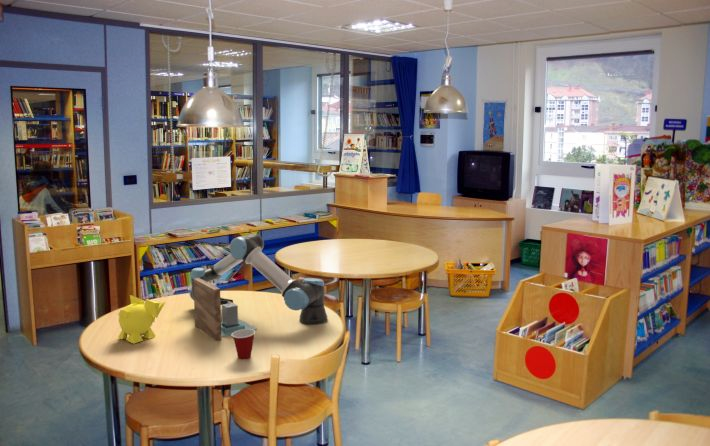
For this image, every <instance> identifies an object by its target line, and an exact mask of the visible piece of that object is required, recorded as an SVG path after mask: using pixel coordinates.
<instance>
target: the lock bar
mask: <svg viewBox="0 0 710 446" xmlns="http://www.w3.org/2000/svg"><path fill="white" fill-rule="evenodd" d="M238 307H239V306H238V305H237V304H236V303H234V302H233V303H229V304H224V305H221V322H222V326H224V327H225V328H230V327H235V326H238V319H239V311H238V310H239V309H238Z"/></svg>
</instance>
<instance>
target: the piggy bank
mask: <svg viewBox="0 0 710 446" xmlns="http://www.w3.org/2000/svg"><path fill="white" fill-rule="evenodd" d="M129 298H130V304H128V305H126V306H125V307H124V308H123V309H120V310H119V312H118V314H117V316H118V323H119V327H120V329H121V332H120V333H119V335H118V336H117V338H118V339H121V340H124V339H125V340H126V341H127V342H129V343H131V344H132V343H133V344H136V343H140V342H143V341H144V340H143V338H144V339H149V340H150V339H152V338H156V337H155V336H156V334H155V333H154V331H153V329H152V328H151V327H152V325H153V323H155V320H156V318H157V319H158V318H159V314H160V312H161V311H162V309H163V307H164V306H165V304H166V301H164V302H158V301H154V300H151V299H147V298H146V299H145V300H144V299H142V298H139V297H136V296H134V295H131V294H129ZM128 335H129V336H128ZM142 335H143V336H142ZM133 344H132V345H133Z"/></svg>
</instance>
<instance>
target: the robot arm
mask: <svg viewBox="0 0 710 446" xmlns="http://www.w3.org/2000/svg"><path fill="white" fill-rule="evenodd" d="M264 247H265V241H264V238H263V237H262V236H261V235H260V234H258V233H254V232H253V233H249V234H244V235H241V236H237V237H235V238H233V239H232V240H231V242H230V244H229V252H230V253H229V254H227V255H226V256H224V257H223V258H222V259H221V260H219V261H218V262H217V263H215V264H213V265H212V266H211V267H208V268H206V269H205V268H204V267H195V268H193V269H191V276H190V277H191V289H190V290H189V298H191V300H193V301H194V282H193V279H194V278H200V279H202V280H204V281H206V282H208V283H210V282H212V281H216V280H219V279H221V278H223V275H224V274H226V273H227V272H229V271H230V270H233V268H234V267H237V266H238V265H239V264H241V263H242V262H244V263H245V264H246V265H249V264H250V265H251V266H252V267H253V268H255V269H256V270H257V271H258V272H259V273H260V274H262V275H263V277H265V278H266V279H267V280H268V281H269V282H270V283H271V284H273V286H275V288H277V289H278V290H279V291H280V292H281V297H283V300H284V304H285V305H286V307H287V308H288V309H290V310H292V311H300V310H301V312H300V315H299V322H301V323H302V324H306V325H320V324H324V323H326V322H327V321H328V314H327V312H326V311H327V310H326V307H325V281H324V280H323V279H321V278H312V277H307V278H303V279H302V282H301V281H299V280H298V279H293V278H291V277H290V276H289V275H288V274H287V273H286V272H285V271H284V270H283V269H282V268H280V267H279V266H278V265H277V264H276V263H275V262H274V261H272V259H270V258H269V257H268V256H267V255H266V254H265V253H263V252H262V251H263V249H264ZM220 302H221V306H222V305H224V304H229V303H234V300H233V299H229V298H224V297H221V296H220Z"/></svg>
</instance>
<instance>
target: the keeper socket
mask: <svg viewBox="0 0 710 446" xmlns="http://www.w3.org/2000/svg"><path fill="white" fill-rule="evenodd" d="M243 329H252V330H254V331H257V328H256V327H254V326H253V325H250V324H249V323H247V322H245V321H243V320H242V319H240V318H238V326H235V327H230V328H225V327H224V326H222V321H221V338H225V337H230V336H232V335H231V334H232V333H233V332H235V331H238V330H243Z"/></svg>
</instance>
